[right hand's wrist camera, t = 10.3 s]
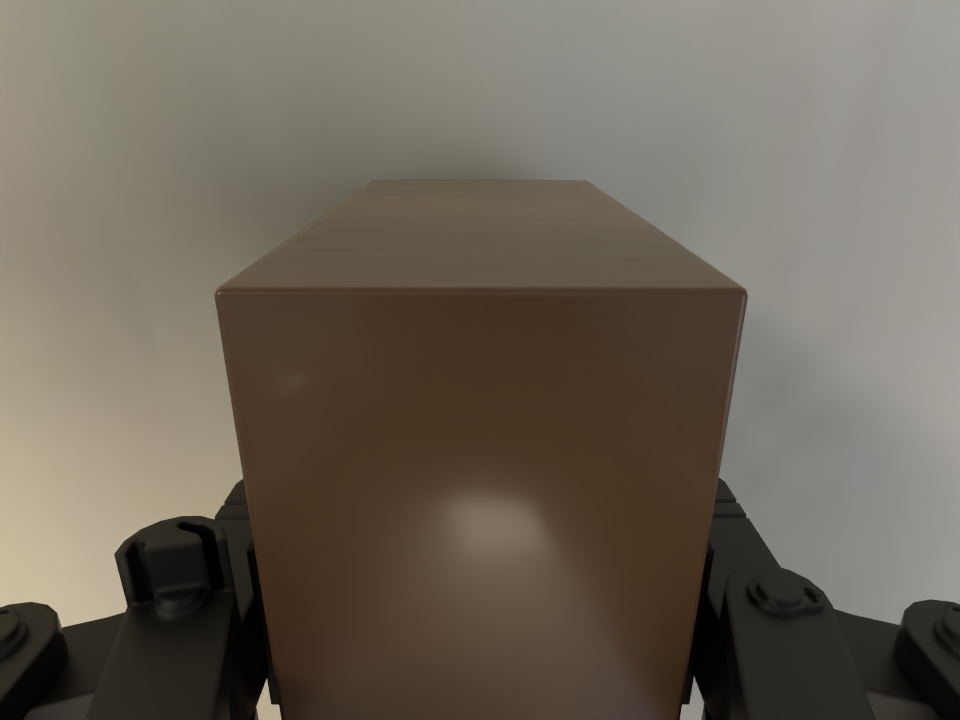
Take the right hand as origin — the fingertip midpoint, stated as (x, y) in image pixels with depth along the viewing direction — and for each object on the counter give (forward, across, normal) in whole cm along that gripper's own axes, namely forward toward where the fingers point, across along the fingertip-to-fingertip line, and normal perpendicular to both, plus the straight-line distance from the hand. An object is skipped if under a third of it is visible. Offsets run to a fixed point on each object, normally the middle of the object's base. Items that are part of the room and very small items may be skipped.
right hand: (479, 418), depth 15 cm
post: (+1, 0, -26) cm, 26 cm away
